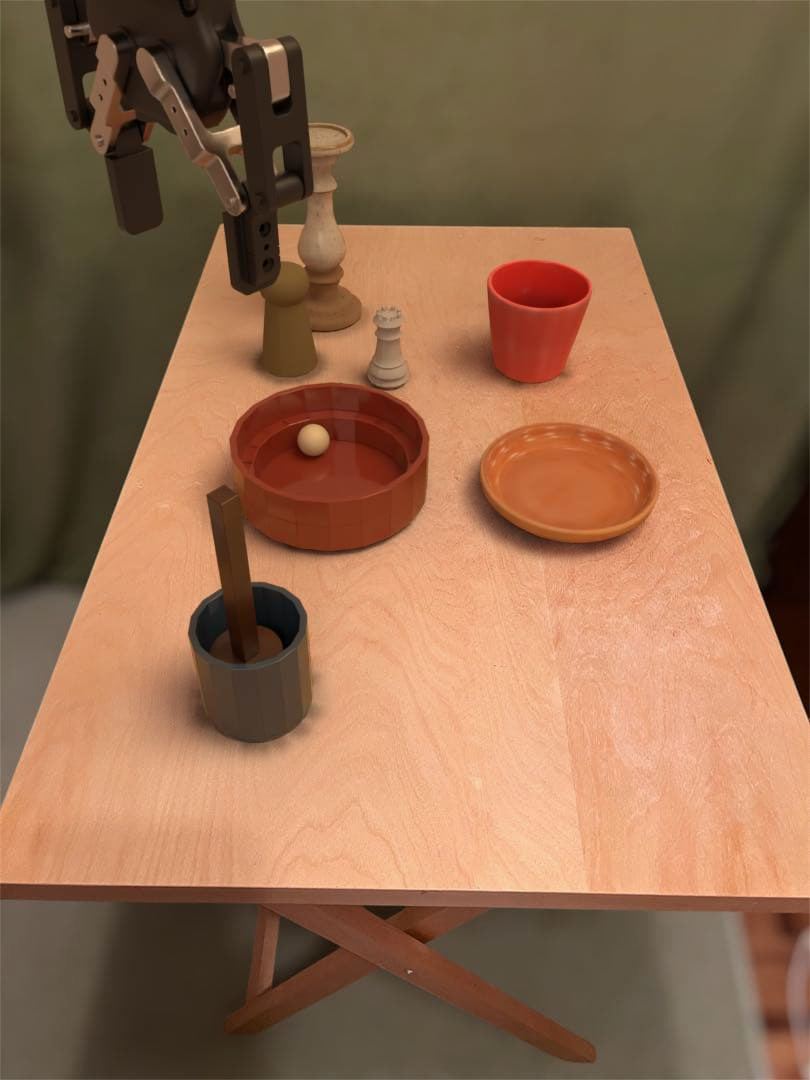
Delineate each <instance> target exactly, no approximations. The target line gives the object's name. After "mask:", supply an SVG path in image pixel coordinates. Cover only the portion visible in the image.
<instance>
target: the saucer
mask: <svg viewBox="0 0 810 1080" xmlns="http://www.w3.org/2000/svg"><path fill="white" fill-rule="evenodd" d="M480 459H481V460H480V462H479V482H480V486H481V487H480V488H481V490H482V492H483V495H484V496H485V498H486V500H487V501H488V503H489V504H490V505H491V506H492V507H493V509H494V510H495V511H496V512H498V514H500V515H501V516H502V517H503V518H505V520H507V521H508V522H510V523H511V524H513V525H514V526H516V527H518V528H519V529H521V530H523V531H526V532H527V533H529V534H532V535H534V536H537V537H540V538H543V539H546V540H550V541H553V542H562V543H571V544H574V543H575V544H580V543H592V542H599V541H600V542H601V541H605V540H609V539H613V538H615V537H618V536H621V535H624V534H626V533H628V532H630V531H632V530H634V529H636V528H637V527H639V526H640V525H641V524H642V523H643V522H644V521H646V520H647V518H648V517H649V516H650V515H651V513H652V512H653V509H654V507H655V505H656V504H657V502H658V499H659V497H660V489H661V488H660V484H661V483H660V480H659V475H658V473H657V470H656V468H655V467H654V465H653V464H652V462H651V461H650V460H649V458H648V457H647V456H646V455H645V454H644V453H643V452H642V451H641V450H640V449H639V448H637V447H636V446H634V445H633V444H632V443H630V442H629V441H627V440H625V439H624V438H622V437H620V436H618V435H616V434H614V433H611V432H609V431H606V430H603V429H601V428H598V427H594V426H590V425H585V424H580V423H575V422H566V421H565V422H564V421H563V422H562V421H560V422H559V421H550V422H549V421H547V422H538V423H531V424H526V425H522V426H519V427H516V428H514V429H511V430H508V431H507V432H505V433H503V434H501V435H500V436H499V437H497V438H496V439H494V440H493V441H492V442H491V443H490V444H489V445H488V446H487V448H486V449H485V451H484V453H483V454H482V456H481V458H480Z"/></svg>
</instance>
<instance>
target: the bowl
mask: <svg viewBox="0 0 810 1080" xmlns="http://www.w3.org/2000/svg"><path fill="white" fill-rule="evenodd" d="M309 424H317V425H320V426H322V427H323V428H324V429H325V430H326V431H327V432H328V435H329V440H330V441H329V446H328V448H327V450H326V451H325V452H324V453H322V454H321V455H318V456H309V455H306V454H305V453H303V452H302V451H301V449H300V448H299V446H298V442H297V438H298V434H299V432H300V430H301V429H302V428H303V427H305V426H307V425H309ZM228 440H229V441H228V442H229V450H230V451H229V452H230V460H231V466H232V472H233V473H232V474H233V481H234V490H235V492H237V493H238V494H239V495H240V503H241V510H242V515H243V516H244V518H245V519H246V520H247V522H248V524H250V525H251V526H252V527H254V528H255V529H257V530H258V531H259V532H261V533H262V534H264V535H265V536H267V537H268V538H269V539H271V540H273V541H277V542H279V543H282V544H285V545H289V546H292V547H294V548H296V549H304V550H305V549H306V550H315V551H325V552H326V551H327V552H335V551H342V550H349V549H357V548H362V547H363V548H365V547H366V546H369V545H372V544H375V543H378V542H380V541H382V540H385V539H388V538H390V537H392V536H394V535H395V534H396V533H398V532H400V531H401V530H402V529H404V528H405V527H406V526H408V525H409V524H410V523H412V522H413V521H414V519H415V518H416V517H417V515H418V513H419V512H420V510H421V509H422V507H423V506H424V504H425V502H426V495H427V491H428V490H427V489H428V481H429V480H428V477H429V476H428V475H429V459H430V440H431V439H430V433H429V431H428V429H427V425H426V423H425V421H424V419H423V417H422V416H421V415H420V414H419V413H418V412H417V411H416V410H415V409H414V408H413V407H412V406H411V405H410V404H409V403H408V402H406V401H404V400H402V399H400V398H398V397H397V396H395V395H393V394H391V393H389V392H387V391H384V390H380V389H378V388H374V387H370V386H367V385H363V384H356V383H343V382H320V383H310V384H309V383H308V384H301V385H297V386H295V387H294V386H293V387H291V388H287V389H284V390H281V391H280V390H279V391H277V392H275V393H272V394H270V395H268V396H266V397H265V398H263V399H261V400H259V401H258V402H255V403H253V404H252V405H251V406H250V407H249V408H248V409H247V410H246V411H245V412H243V414H242V415H241V416H240V417H239V418H237V420H236V422H235V425H234V427H233V429H232V431H231V434H230V436H229V438H228Z"/></svg>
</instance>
